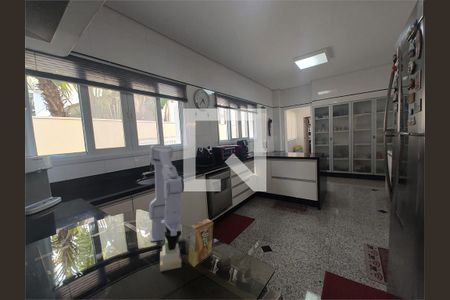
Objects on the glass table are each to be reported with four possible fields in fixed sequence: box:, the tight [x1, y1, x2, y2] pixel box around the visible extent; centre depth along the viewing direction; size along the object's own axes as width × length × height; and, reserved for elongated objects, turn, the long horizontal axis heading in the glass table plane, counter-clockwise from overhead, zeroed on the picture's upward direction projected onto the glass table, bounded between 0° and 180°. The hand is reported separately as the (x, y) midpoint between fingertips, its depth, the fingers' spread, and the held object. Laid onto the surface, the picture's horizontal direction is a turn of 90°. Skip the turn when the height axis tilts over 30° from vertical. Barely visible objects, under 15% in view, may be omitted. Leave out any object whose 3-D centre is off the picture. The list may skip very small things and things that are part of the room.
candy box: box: [188, 218, 214, 268], centre depth 69 cm, size 9×4×15 cm, turn 137°
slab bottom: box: [159, 249, 182, 272], centre depth 67 cm, size 8×8×3 cm
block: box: [164, 237, 177, 253], centre depth 66 cm, size 4×4×4 cm
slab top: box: [161, 242, 180, 263], centre depth 67 cm, size 6×6×3 cm
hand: (171, 243), depth 66 cm, fingers open, 7 cm apart
